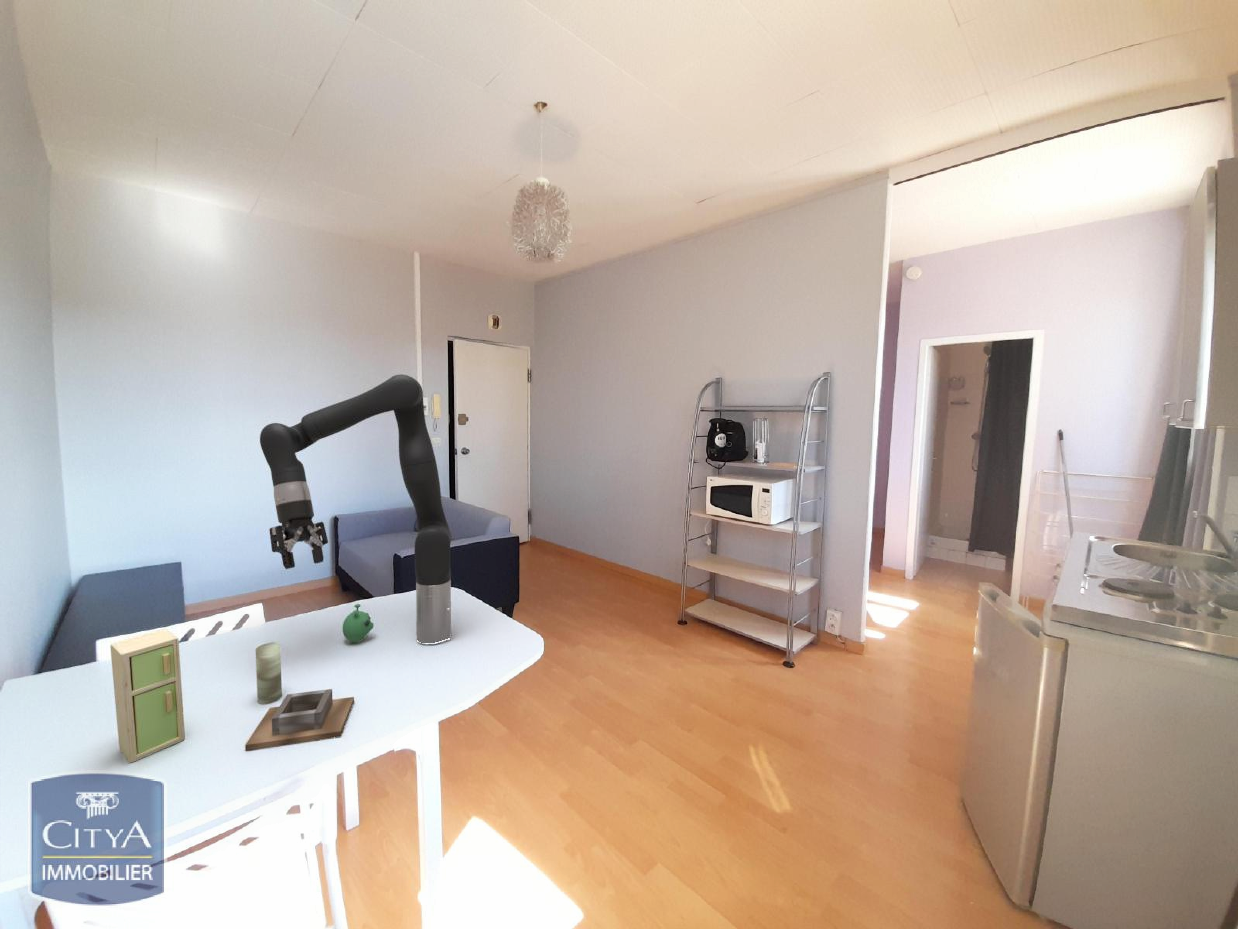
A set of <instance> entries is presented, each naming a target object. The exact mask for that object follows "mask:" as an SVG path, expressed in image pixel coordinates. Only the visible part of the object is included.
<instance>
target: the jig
mask: <svg viewBox="0 0 1238 929" xmlns="http://www.w3.org/2000/svg"><path fill="white" fill-rule="evenodd" d="M354 703H355V697H354V696H351V697H350V696H349V697H342V698H336V699H333V688H330V689H329V688H328V689H321V690H319V689H318V690H311V691H304V692H297V693H294V692H293V693H287V694H286V695H285V696H284V698H283V700H282V702H281V704H279V706H272V707H269V708H268V709H267V711H266V713H265V714H264V716H263V717H262V719H261V720H260V722H259V724H257V726H256V728H255V730H254V731H253V733H252V734H251V735H250V736H249V739H248V740H247V741H246V743H245V744H244V745H245V746H244V748H245V749H244V751H245V752H248V751H256V750H261V749H267V748H268V749H269V748H275V747H281V746H287V745H294V744H301V743H307V742H308V743H309V742H314V741H315V742H316V741H320V739H322V740H327V739H328V740H329V739H335V738H340V737H339V736H341V737H342V735H343V732H344V730H343V729H345V727H346V724H347V722H346V721H348V719H349V715H350V714H351V711H352V709H351V708H353V706H354ZM352 705H353V706H352ZM349 713H350V714H349ZM344 726H345V727H344ZM341 734H342V735H341ZM334 737H335V738H334Z"/></svg>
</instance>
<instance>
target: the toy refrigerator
mask: <svg viewBox="0 0 1238 929" xmlns="http://www.w3.org/2000/svg"><path fill="white" fill-rule="evenodd" d="M179 644H180V643H179V637H178V636H177V635H175V634H174V633H172V631H170V630H169V629H167V628H164V629H160V630H156V631H153V632H148V633H145V634H142V635H139V636H135V637H131V638H127V639H124V640H121V641H116V642H113V643H111V644H110V656H111V668H112V669H111V670H112V680H113V692H114V704H115V714H116V715H115V716H116V724H117V725H116V726H117V727H116V728H117V736H118V737H117V738H118V747H119V751H120V752H121V753H122V755H123V756H124V757H125V759H126V760H127V761H128V763H130V764H131V763H133V762H136V761H139V760H141V759H143V758H146V757H148V756H150V755H153V754H155V753H157V752H160V751H161V750H164V749H166V748H168V747H171V746H173V745H175V744H177V743H180V742H183V741H184V740H186V729H185V717H184V716H185V715H184V704H183V688H182V675H181V674H182V670H181V659H180V645H179Z"/></svg>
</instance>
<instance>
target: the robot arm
mask: <svg viewBox="0 0 1238 929" xmlns="http://www.w3.org/2000/svg"><path fill="white" fill-rule="evenodd" d="M392 411H393V413H394V417H395V420H396V424H397V430H398V458H399V466H400V469H401V475H402V479H403V482H404V487H405V489H406V491H407V494H408V495H409V498H410V500H411V501H412V504H413V507H414V509H415V515H416V521H417V523H416V524H417V536H416V537H415V541H414V574H415V584H416V585H415V588H416V589H415V594H416V595H415V596H416V597H415V598H416V601H415V606H416V607H415V610H416V611H415V613H416V614H415V617H416V619H415V620H416V622H415V624H416V625H415V626H416V632H415V633H416V634H415V635H416V641H417V640H418V641H419V642H421V643H435V642H439V641H442V640H445V639H448V638H450V636H451V634H452V600H451V599H452V596H451V595H452V592H451V591H452V590H451V589H452V588H451V585H452V584H451V583H452V582H451V581H452V580H451V578H452V577H451V576H452V572H451V571H452V570H451V569H452V568H451V543H452V534H451V530H450V527H449V523H448V522H447V518H446V514H445V511H444V509H443V508H444V507H443V504H442V493H441V483H440V476H439V470H438V465H437V464H438V463H437V460H436V455H435V452H434V448H433V444H432V441H431V436H430V434H429V431H428V427H427V423H426V418H425V415H426V414H425V406H424V392H423V388H422V385H421V384H420V382H419V381H418V380H416V378H414V377H413V376H411V375H407V374H395V375H393V376H391V377H390V378H388V379H387V380H386V379H385V381H383V382H381V383H380V384H378V385H377V386H374V387H373V388H371V389H369V390H367V391H366V392H363V393H360V394H358V395H356V396H354V397H351V398H348V399H346V400H342V401H339V402H337V403H333V404H331V405H328V406H325V407H323V408H320V409H318V410H315V411H312V412H309V413H307V414H305V415H303V417H302V418H301V420H300V422H298V423H297V424H294V425H292V426H288V425H286V424H283V423H277V422H273V423H272V422H271V423H270V424H269V423H268V424H267V425H265V426H264V427H263V428H262V429H261V431H260V434H259V444H260V447H261V451H262V454H263V456H264V459H265V460H266V463H267V465H268V466H269V469H270V476H271V481H272V487H273V499H274V504H275V511H276V516H277V521H278V523H280V524H281V525H276V526H273V527H269V538H270V544H271V545H270V546H271V552H272V553H279V554H280V555H281V560H282V565H283V567H284V568H285V570H290V569H293V568H295V567H296V563H295V558H294V552H293V549H294V547H295V545H296V544H297V543H298V542H299V543H302V542H304V543H305V544H307V545H308V546H310V548H311V554H312V555H311V556H312V559H313V563H314V564H315V565H316V564H320V563H323V562H324V559H325V558H324V553H323V546H325V545H327V544H329V540H328V535H327V532H326V527H325V523H324V522H323V521H318V522H315V523H314V521H313V518H314V517H315V514H314V506H313V502H312V497H311V492H310V488H309V485H308V482H307V477H306V471H305V467H304V464H303V463H302V462H301V461H300V460H299V459H298V458H297V454H296V453H298V452H301V451H304V450H305V449H307V448H309V447H310V446H312V445H314V444H315V443H317V442H318V441H320V440H322V439H325V438H328V437H330V436H333V435H335V434H338V433H340V432H342V431H345V430H347V429H349V428H351V427H353V426H356V425H358V424H359V423H361V422H363V421H366V420H367V419H370V418H373V417H375V416H377V415H380V414H381V415H382V414H384V413H389V412H392ZM451 637H452V636H451ZM450 639H451V638H450Z"/></svg>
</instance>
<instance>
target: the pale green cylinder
mask: <svg viewBox="0 0 1238 929" xmlns="http://www.w3.org/2000/svg"><path fill="white" fill-rule="evenodd" d="M281 664H282V660H281V643H279V642H267V643H263V644H261V645H258V646H257V647H256V648H255V670H256V671H255V672H256V688H257V689H256V694H257V696H256V697H257V703H258V704H259V705H267V704H272V703H275V702H277V701H278V700H280V699H281V698H282V696H283V690H282V687H283V686H282V665H281Z"/></svg>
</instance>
